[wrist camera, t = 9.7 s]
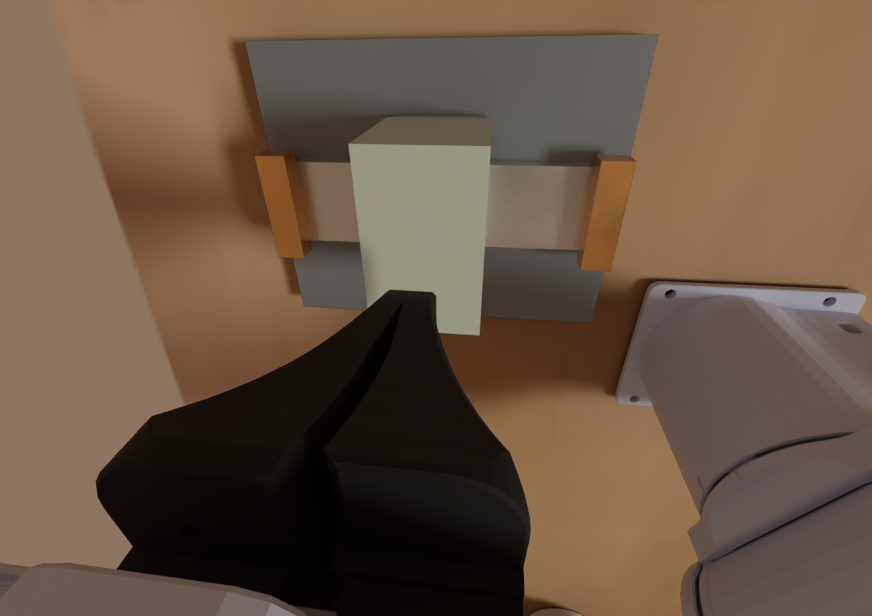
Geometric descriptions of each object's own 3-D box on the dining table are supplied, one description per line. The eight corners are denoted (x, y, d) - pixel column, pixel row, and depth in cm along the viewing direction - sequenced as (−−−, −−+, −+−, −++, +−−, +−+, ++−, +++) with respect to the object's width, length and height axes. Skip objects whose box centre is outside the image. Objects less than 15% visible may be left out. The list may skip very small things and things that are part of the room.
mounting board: (647, 34, 15) (658, 34, 14) (587, 309, 22) (591, 322, 21) (260, 41, 17) (245, 41, 16) (312, 295, 23) (303, 306, 22)
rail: (623, 150, 16) (636, 161, 15) (601, 252, 19) (610, 271, 17) (274, 146, 18) (254, 155, 16) (295, 241, 20) (278, 257, 19)
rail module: (492, 115, 16) (490, 146, 11) (483, 264, 19) (479, 335, 15) (390, 114, 16) (348, 143, 12) (399, 260, 20) (369, 328, 15)
